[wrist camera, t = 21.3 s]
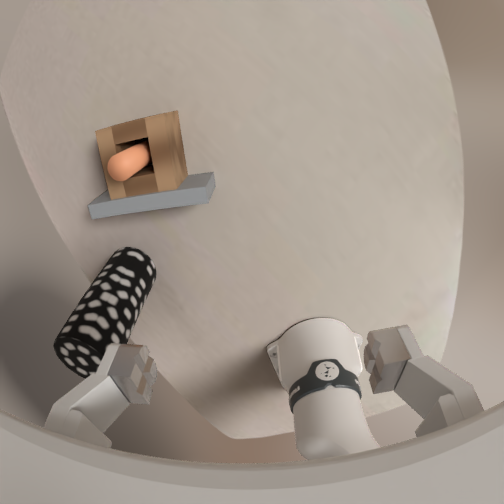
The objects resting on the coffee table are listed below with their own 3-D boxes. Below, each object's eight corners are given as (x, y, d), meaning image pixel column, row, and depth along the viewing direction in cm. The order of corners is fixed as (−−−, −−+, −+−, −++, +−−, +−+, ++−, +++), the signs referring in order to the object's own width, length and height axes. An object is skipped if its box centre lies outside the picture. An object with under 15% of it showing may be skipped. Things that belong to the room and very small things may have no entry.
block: (188, 175, 38) (176, 189, 32) (128, 185, 38) (110, 199, 33) (177, 110, 33) (163, 113, 28) (116, 124, 34) (95, 131, 28)
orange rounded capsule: (159, 136, 35) (129, 151, 26) (163, 158, 36) (134, 178, 28) (139, 141, 35) (104, 157, 26) (143, 161, 36) (110, 183, 28)
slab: (215, 186, 38) (208, 203, 33) (112, 201, 39) (91, 219, 34) (213, 172, 37) (205, 186, 32) (108, 188, 38) (87, 205, 33)
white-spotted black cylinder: (164, 283, 47) (126, 382, 29) (125, 292, 48) (81, 382, 31) (142, 241, 43) (85, 333, 25) (103, 254, 44) (42, 338, 27)
